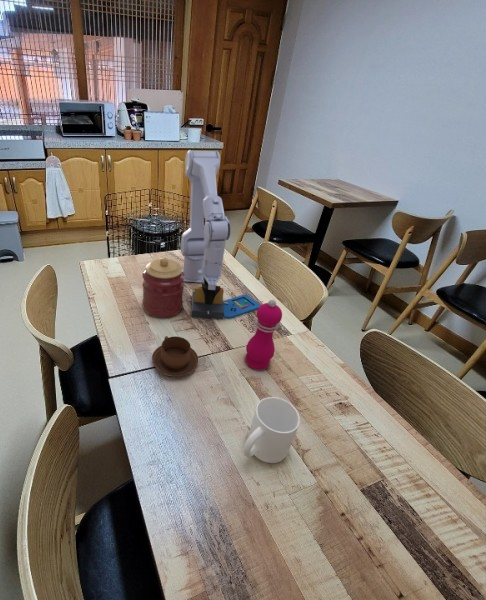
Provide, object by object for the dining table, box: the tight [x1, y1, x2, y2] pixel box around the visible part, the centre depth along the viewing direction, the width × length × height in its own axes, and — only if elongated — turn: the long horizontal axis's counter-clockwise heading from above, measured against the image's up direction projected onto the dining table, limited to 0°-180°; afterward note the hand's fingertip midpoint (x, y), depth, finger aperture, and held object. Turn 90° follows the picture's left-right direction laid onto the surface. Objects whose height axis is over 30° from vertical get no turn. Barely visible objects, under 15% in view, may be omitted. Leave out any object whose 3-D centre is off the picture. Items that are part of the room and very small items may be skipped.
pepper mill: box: [245, 299, 283, 371], centre depth 85 cm, size 7×7×20 cm
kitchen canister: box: [142, 256, 185, 319], centre depth 105 cm, size 13×13×18 cm
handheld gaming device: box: [223, 294, 262, 320], centre depth 112 cm, size 8×1×15 cm
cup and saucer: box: [151, 335, 199, 377], centre depth 87 cm, size 12×12×6 cm
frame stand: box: [187, 291, 228, 320], centre depth 110 cm, size 13×13×3 cm
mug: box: [242, 396, 301, 464], centre depth 67 cm, size 12×8×10 cm
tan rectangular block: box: [194, 285, 225, 304], centre depth 108 cm, size 9×2×5 cm, turn 87°
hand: (208, 297), depth 108 cm, fingers open, 7 cm apart
